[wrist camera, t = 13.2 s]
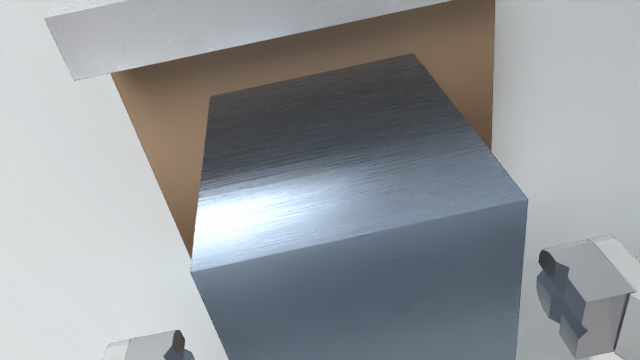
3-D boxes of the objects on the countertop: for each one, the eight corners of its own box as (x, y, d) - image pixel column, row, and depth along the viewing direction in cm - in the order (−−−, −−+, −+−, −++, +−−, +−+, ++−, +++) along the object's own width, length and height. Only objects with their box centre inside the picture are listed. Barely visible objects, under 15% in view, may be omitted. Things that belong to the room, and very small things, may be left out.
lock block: (210, 96, 12) (190, 272, 7) (413, 52, 12) (528, 198, 7) (280, 314, 17) (297, 513, 12) (429, 282, 17) (507, 467, 12)
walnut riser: (120, -55, 15) (43, 18, 9) (426, -119, 15) (544, -88, 9) (231, 249, 22) (228, 401, 16) (440, 204, 22) (513, 338, 16)
